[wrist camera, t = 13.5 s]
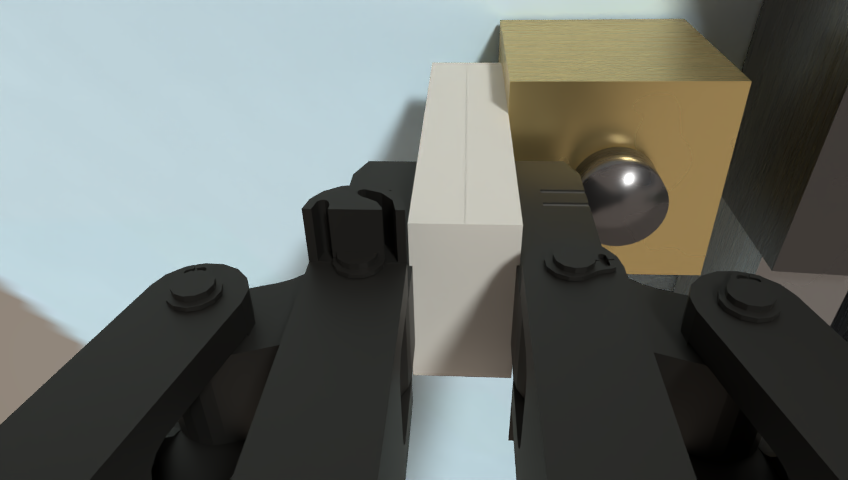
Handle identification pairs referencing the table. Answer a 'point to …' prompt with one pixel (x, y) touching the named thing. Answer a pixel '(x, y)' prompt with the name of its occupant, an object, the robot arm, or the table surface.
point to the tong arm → (790, 159)
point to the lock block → (629, 127)
